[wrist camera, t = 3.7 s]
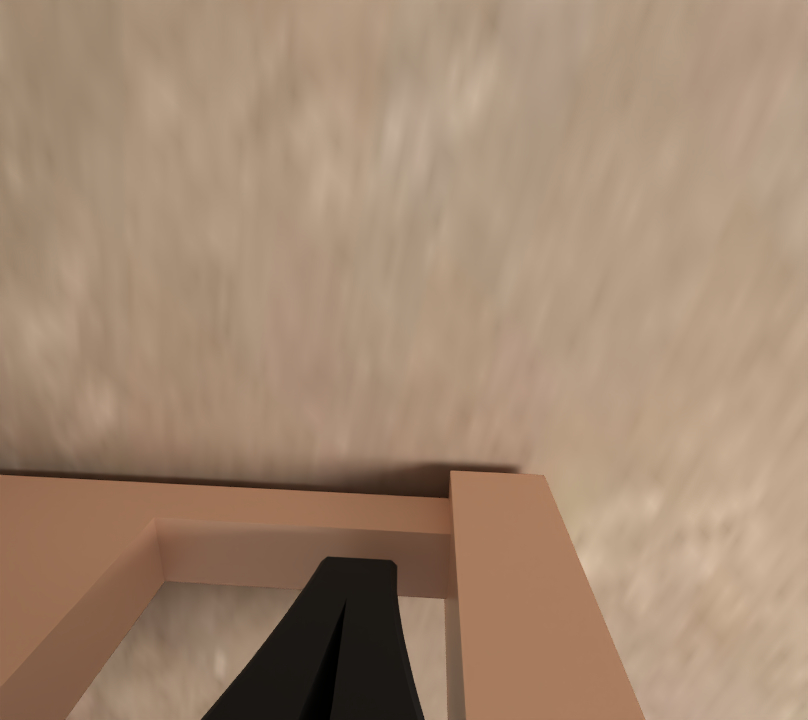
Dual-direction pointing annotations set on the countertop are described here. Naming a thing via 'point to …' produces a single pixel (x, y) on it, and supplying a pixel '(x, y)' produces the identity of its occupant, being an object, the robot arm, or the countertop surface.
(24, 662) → the stepped wooden plank
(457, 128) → the countertop surface
